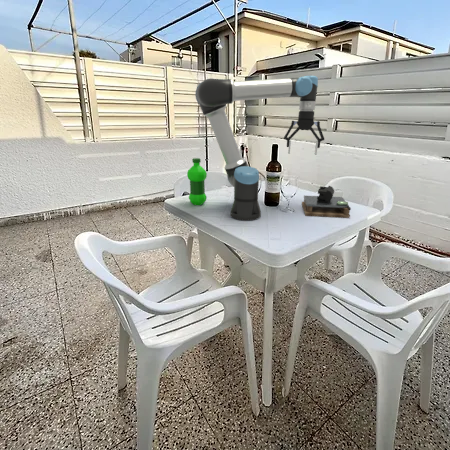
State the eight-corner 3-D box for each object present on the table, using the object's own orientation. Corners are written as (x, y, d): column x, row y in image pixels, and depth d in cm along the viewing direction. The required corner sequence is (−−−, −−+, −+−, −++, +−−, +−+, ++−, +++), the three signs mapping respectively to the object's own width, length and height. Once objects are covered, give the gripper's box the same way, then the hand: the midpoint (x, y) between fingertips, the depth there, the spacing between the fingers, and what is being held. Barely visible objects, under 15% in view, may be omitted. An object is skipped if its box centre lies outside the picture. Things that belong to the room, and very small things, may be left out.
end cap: (331, 203, 147) (333, 190, 144) (316, 202, 150) (318, 189, 147) (333, 198, 155) (334, 186, 153) (319, 197, 158) (320, 184, 156)
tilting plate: (306, 206, 147) (307, 201, 146) (303, 197, 162) (304, 192, 161) (348, 207, 144) (349, 202, 143) (341, 198, 159) (342, 194, 158)
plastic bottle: (198, 208, 158) (196, 161, 149) (184, 204, 165) (182, 158, 155) (210, 203, 165) (210, 158, 156) (197, 200, 172) (196, 156, 162)
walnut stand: (305, 215, 147) (306, 205, 145) (301, 204, 165) (302, 195, 163) (349, 218, 144) (351, 207, 142) (341, 206, 162) (342, 196, 160)
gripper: (281, 110, 146) (277, 154, 153) (334, 111, 141) (327, 155, 149) (281, 110, 152) (278, 152, 160) (331, 111, 148) (325, 153, 156)
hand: (302, 154), depth 155 cm, fingers open, 13 cm apart
